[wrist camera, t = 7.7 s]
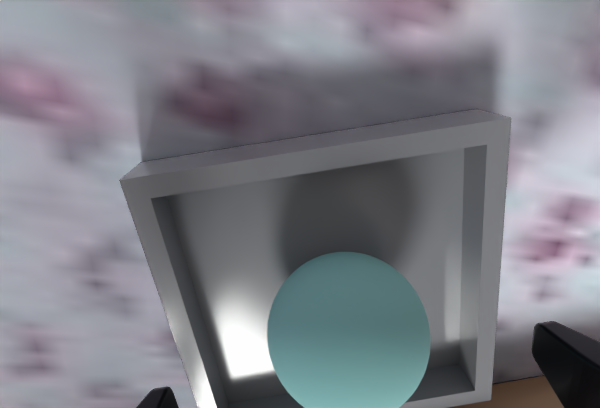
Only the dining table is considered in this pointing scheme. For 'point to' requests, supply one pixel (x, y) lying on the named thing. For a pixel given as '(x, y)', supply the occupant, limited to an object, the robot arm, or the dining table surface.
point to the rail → (520, 395)
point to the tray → (328, 243)
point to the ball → (348, 334)
